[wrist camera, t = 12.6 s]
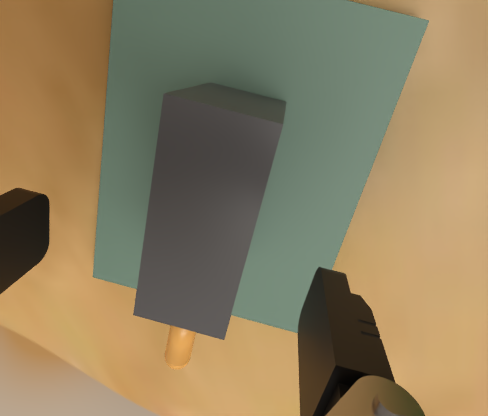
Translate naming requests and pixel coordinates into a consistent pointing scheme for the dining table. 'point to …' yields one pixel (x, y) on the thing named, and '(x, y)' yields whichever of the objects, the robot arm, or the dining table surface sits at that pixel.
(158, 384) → the dining table surface
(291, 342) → the dining table surface
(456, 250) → the dining table surface
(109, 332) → the dining table surface
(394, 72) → the header board
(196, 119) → the block
